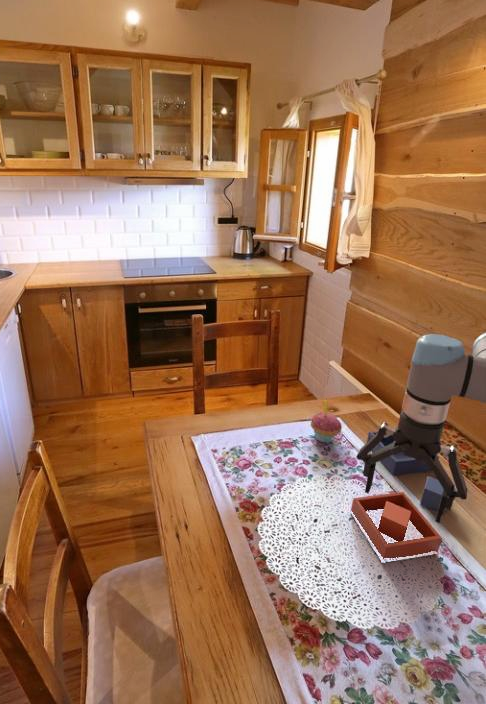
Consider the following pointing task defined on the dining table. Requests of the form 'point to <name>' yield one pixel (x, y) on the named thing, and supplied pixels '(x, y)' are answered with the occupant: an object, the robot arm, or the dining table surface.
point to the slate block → (432, 494)
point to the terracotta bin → (418, 520)
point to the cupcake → (325, 425)
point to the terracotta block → (394, 521)
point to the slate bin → (399, 459)
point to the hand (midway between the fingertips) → (401, 503)
